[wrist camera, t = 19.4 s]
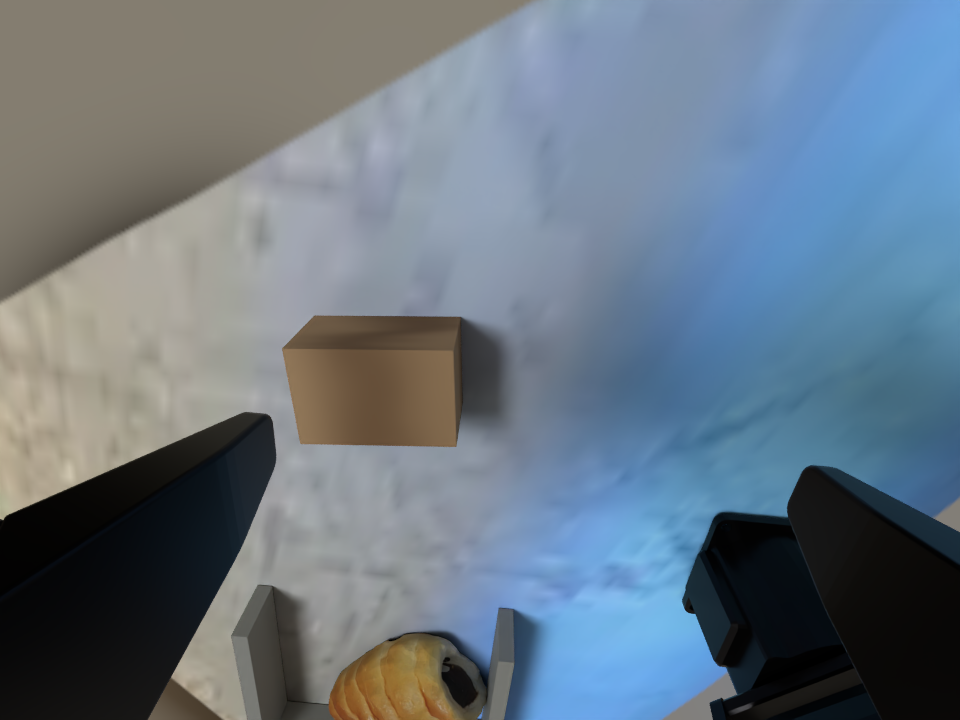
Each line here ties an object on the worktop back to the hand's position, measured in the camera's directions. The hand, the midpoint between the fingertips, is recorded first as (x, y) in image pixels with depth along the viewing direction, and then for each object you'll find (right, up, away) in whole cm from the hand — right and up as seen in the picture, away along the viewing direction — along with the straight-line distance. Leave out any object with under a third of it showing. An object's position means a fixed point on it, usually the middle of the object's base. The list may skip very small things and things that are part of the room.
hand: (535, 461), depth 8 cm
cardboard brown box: (-5, +2, +13) cm, 14 cm away
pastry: (-5, -17, +22) cm, 28 cm away
